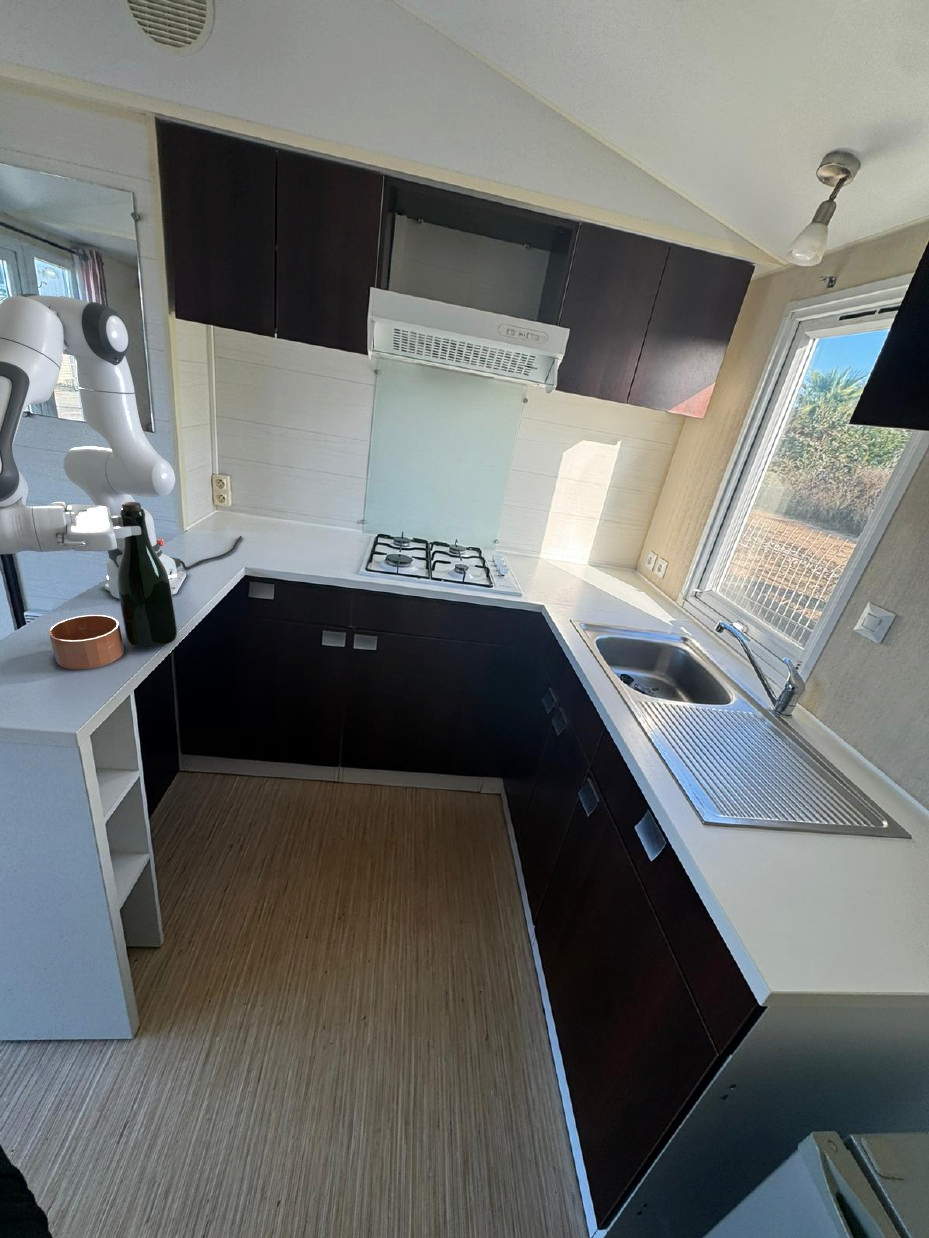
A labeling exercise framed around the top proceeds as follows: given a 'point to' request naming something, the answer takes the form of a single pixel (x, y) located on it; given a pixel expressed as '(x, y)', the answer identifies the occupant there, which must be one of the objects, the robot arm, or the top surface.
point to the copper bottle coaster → (86, 641)
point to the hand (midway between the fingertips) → (139, 525)
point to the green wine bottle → (144, 587)
